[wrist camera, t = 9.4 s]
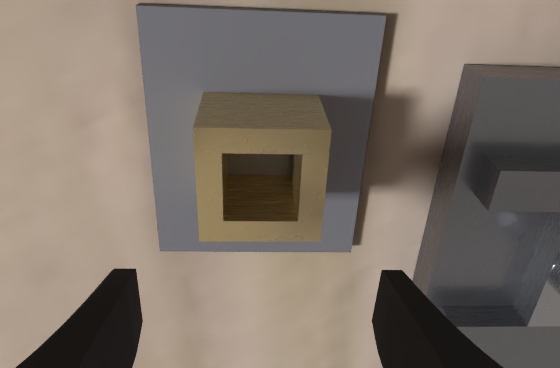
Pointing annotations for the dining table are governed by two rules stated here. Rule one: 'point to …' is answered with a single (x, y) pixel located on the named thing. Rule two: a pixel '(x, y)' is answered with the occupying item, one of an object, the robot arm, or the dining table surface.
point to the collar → (254, 187)
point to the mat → (256, 79)
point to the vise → (499, 216)
